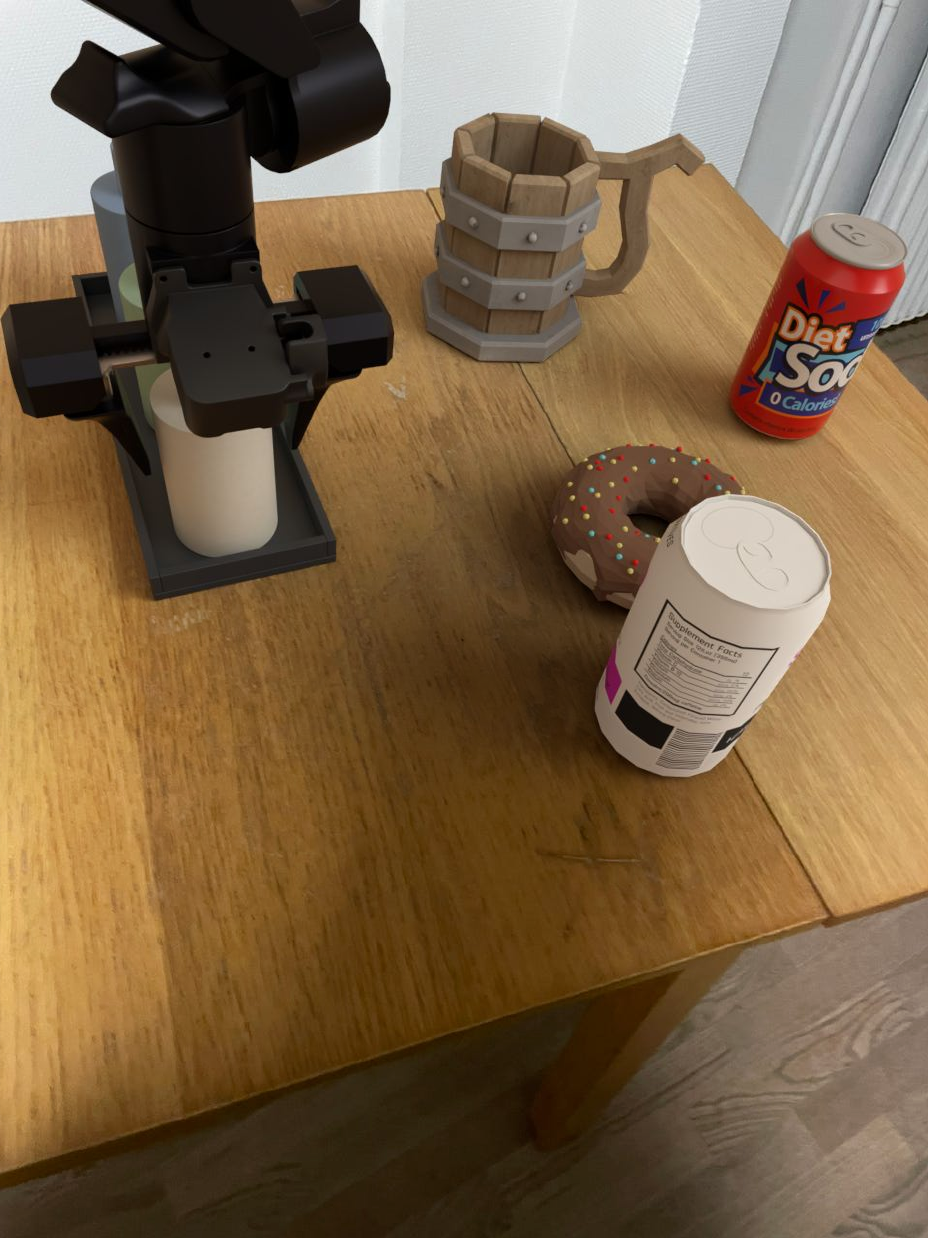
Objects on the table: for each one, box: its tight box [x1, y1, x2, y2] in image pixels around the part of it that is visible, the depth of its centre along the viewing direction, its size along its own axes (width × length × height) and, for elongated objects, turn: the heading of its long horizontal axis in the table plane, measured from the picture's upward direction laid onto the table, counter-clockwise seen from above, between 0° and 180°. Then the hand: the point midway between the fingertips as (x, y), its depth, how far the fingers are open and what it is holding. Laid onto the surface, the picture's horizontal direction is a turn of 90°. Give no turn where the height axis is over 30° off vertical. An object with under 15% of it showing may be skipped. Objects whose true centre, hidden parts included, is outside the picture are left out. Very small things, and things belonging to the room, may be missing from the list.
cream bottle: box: [149, 368, 278, 558], centre depth 53 cm, size 6×6×13 cm
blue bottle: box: [89, 141, 134, 323], centre depth 64 cm, size 6×6×13 cm
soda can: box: [728, 212, 908, 440], centre depth 66 cm, size 8×8×15 cm
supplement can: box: [594, 494, 833, 778], centre depth 47 cm, size 8×8×15 cm
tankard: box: [420, 111, 706, 363], centre depth 70 cm, size 20×13×15 cm, turn 97°
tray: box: [70, 271, 337, 602], centre depth 63 cm, size 11×31×2 cm, turn 22°
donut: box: [547, 443, 747, 610], centre depth 59 cm, size 14×14×5 cm
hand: (221, 457), depth 53 cm, fingers open, 8 cm apart
